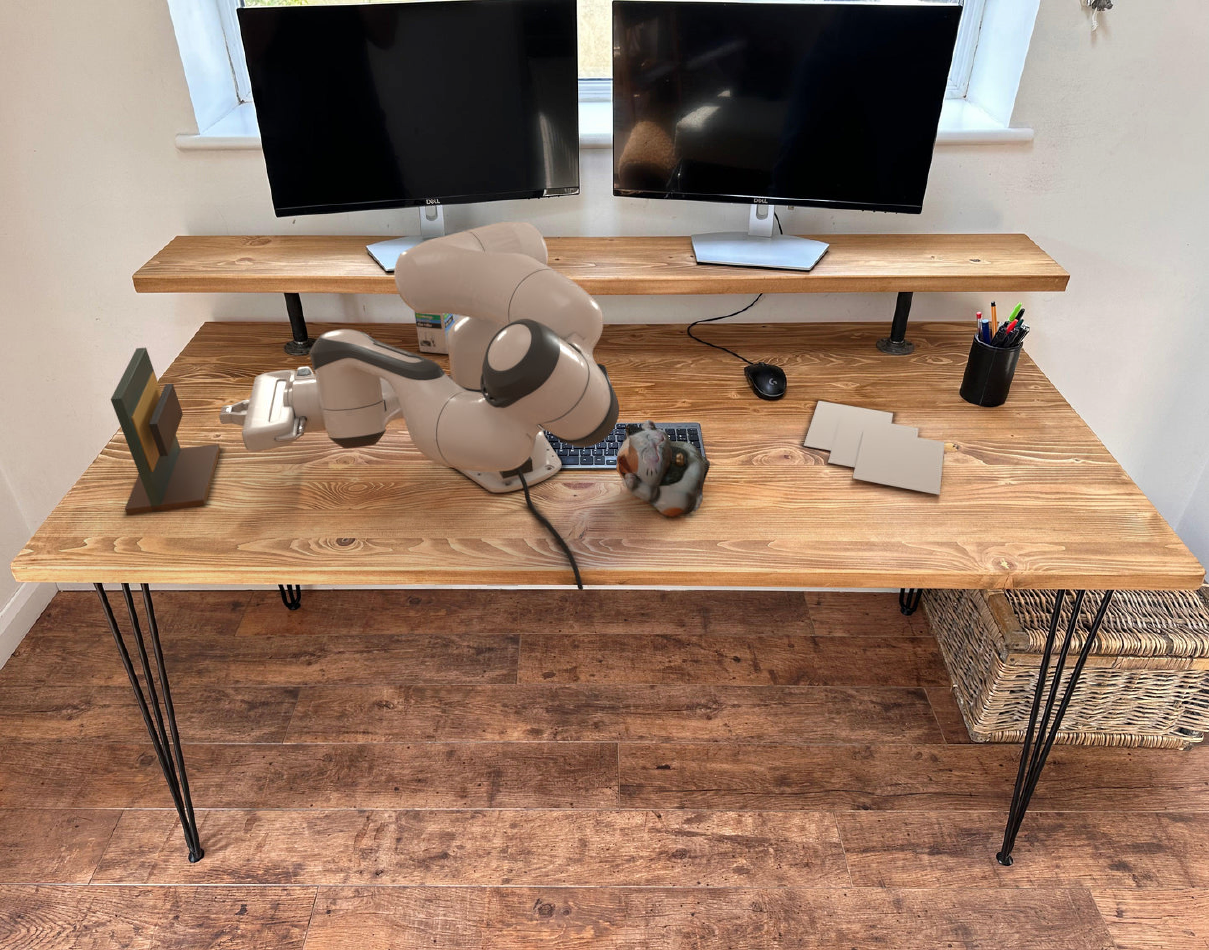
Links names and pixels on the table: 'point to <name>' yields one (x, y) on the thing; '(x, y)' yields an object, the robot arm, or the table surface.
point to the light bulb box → (434, 331)
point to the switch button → (166, 420)
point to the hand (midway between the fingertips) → (221, 415)
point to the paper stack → (877, 447)
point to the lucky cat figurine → (662, 470)
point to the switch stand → (160, 477)
